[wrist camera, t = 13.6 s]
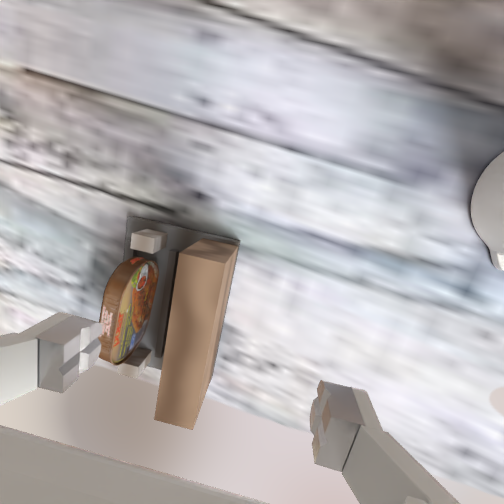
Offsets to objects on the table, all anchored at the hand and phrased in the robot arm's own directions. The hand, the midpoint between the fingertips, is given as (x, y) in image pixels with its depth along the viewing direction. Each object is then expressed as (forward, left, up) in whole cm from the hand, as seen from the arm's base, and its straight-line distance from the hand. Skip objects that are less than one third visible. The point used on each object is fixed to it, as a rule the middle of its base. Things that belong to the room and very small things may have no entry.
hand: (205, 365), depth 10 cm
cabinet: (+10, +13, -28) cm, 33 cm away
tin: (+15, +13, -27) cm, 33 cm away
